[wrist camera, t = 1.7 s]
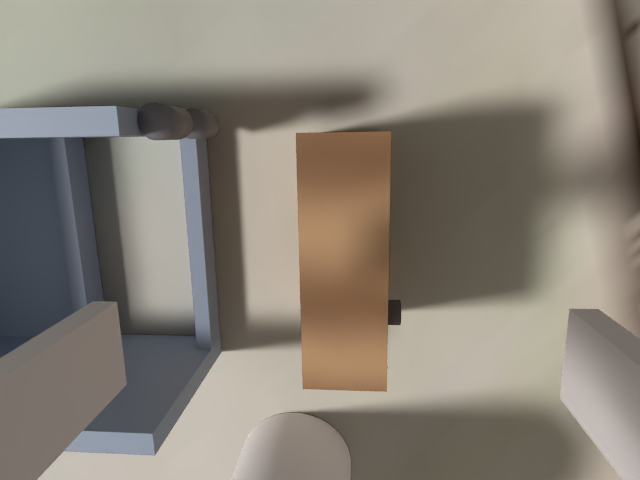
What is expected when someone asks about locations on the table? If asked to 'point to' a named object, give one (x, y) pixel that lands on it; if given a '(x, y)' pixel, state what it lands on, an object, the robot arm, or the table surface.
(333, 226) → the tan wooden block
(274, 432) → the cup
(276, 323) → the table surface
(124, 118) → the cabinet
